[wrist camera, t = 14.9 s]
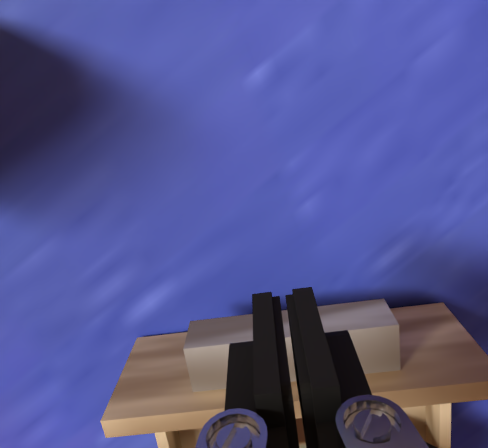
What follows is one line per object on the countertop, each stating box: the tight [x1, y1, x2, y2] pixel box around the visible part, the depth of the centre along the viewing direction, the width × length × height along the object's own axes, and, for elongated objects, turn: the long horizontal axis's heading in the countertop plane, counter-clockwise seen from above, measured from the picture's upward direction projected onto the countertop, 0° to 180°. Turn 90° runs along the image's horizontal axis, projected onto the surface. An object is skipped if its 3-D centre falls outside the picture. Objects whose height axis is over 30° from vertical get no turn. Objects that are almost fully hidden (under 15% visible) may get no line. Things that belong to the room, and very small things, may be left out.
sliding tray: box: [101, 299, 488, 448], centre depth 24 cm, size 14×18×7 cm
